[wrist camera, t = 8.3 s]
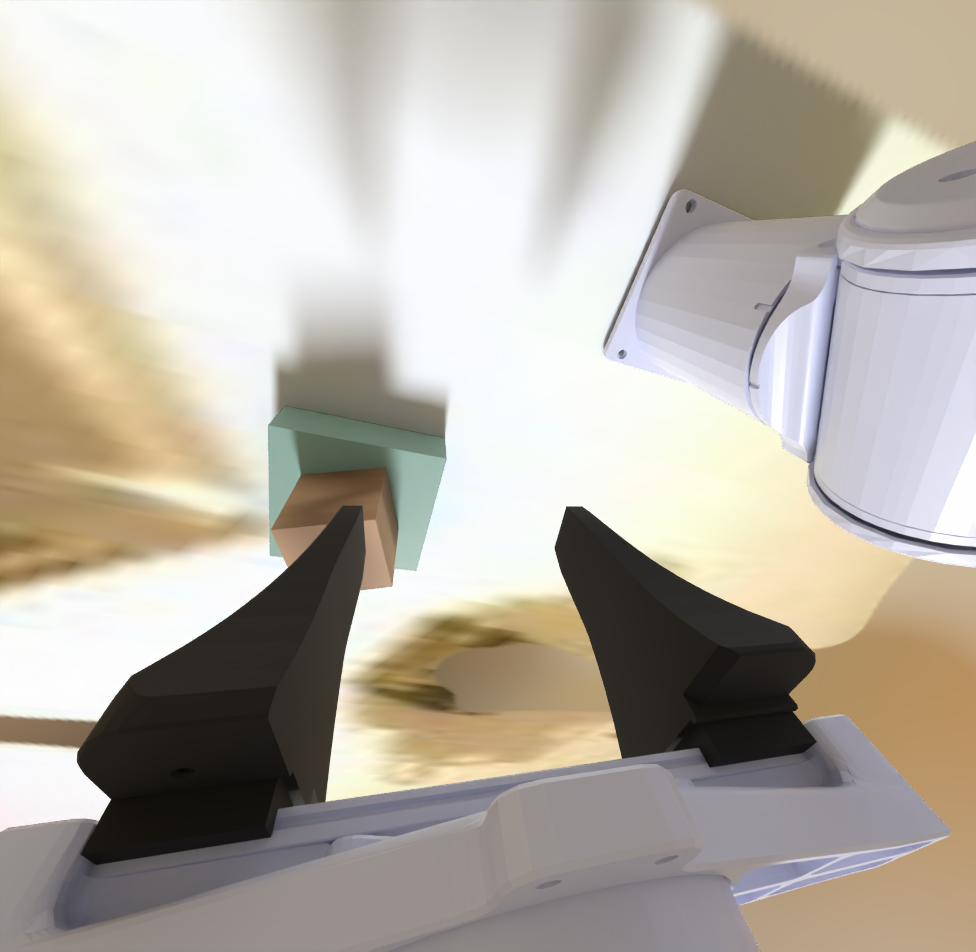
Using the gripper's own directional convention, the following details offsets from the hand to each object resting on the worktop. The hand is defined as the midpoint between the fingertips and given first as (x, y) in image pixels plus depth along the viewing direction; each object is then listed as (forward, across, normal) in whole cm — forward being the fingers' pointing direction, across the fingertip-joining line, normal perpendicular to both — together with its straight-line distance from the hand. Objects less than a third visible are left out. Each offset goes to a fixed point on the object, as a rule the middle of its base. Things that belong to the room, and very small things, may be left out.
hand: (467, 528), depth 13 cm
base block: (+11, +5, +5) cm, 13 cm away
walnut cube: (+8, +5, +5) cm, 11 cm away
